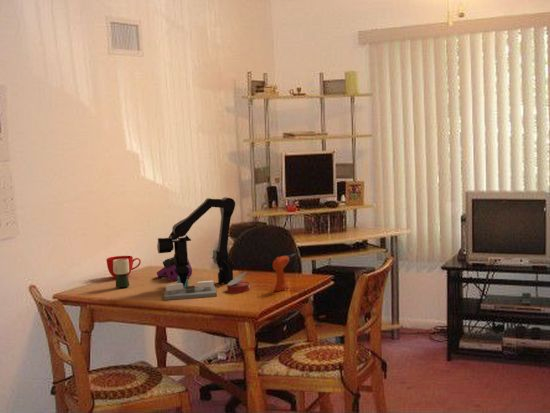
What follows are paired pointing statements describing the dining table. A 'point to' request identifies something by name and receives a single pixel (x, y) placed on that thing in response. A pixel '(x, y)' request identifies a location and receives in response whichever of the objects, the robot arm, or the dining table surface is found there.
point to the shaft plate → (190, 291)
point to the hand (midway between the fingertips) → (183, 285)
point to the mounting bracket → (172, 272)
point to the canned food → (238, 285)
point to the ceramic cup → (130, 258)
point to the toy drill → (281, 271)
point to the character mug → (121, 272)
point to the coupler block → (185, 282)
